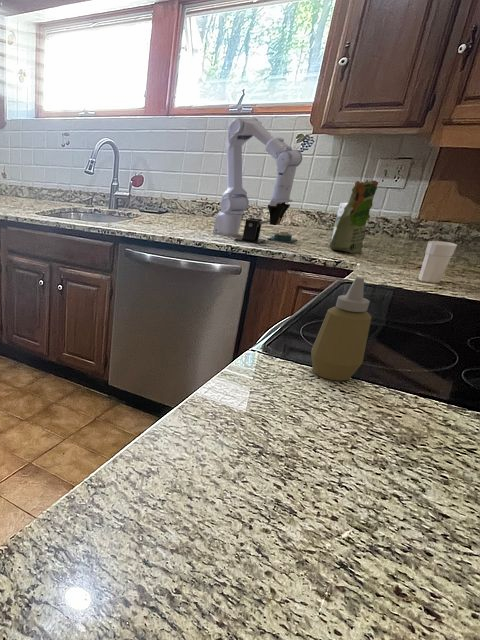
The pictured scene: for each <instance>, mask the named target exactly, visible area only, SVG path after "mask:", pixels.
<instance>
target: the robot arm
mask: <svg viewBox="0 0 480 640" xmlns="http://www.w3.org/2000/svg"><path fill="white" fill-rule="evenodd" d="M253 137H254V138H256V140H258V141H260V142H261V143H262V144H263V145H264V146H265V151H266V152H267V153H268V155H270V156H271V157H272V158H273V159H274V160H275V164H276V176H275V177H276V178H275V181H274V185H273V190H272V191H273V192H272V195H271V198H270V201H269V204H268V205H267V210H268V212H269V220H270V222H269V225H270V226H277V225H281V222H282V220H283V218H284V216H285V214H286V213H287V211H288V209H289V208H290V206H291V203H292V202H293V199H292V198H291V194H292V189H293V184H294V179H295V175H296V171H297V167H299V166H300V165H301V163H302V162H303V154H302V153H301V151H300V150H298V149H293V146H291V145H288V144H287V143H286V142H285V139H284V138H283V137H279V136H277V137H274V136H273V135H272V134H271V133H270V132H269V131H268V130H267V129H266V128H265V126H264V125H263V123H262V122H261V121H260V120H259V118H257V117H251V118H249V117H248V118H247V117H246V118H243V117H235V118H233V119H232V121H231V122H230V123H229V124H228V126H227V140H226V187H227V188H226V190H225V191H224V192H223V193H222V194H221V201H220V205H219V206H220V212H217V214H216V216H215V219H214V224H213V230H212V234H214V235H215V234H216V235H221V236H230V237H236V236H239V233H240V227H241V222H242V217H243V215H244V214H245V211H247V210H248V208H249V205H250V200H249V198H248V192H247V191H246V190H245V188H243V145H244V144H246V142H248V141H249V140H250V139H251V138H253ZM289 203H290V204H289ZM279 217H280V222H279V223H278V220H279Z"/></svg>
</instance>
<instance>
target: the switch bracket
mask: <svg viewBox="0 0 480 640" xmlns="http://www.w3.org/2000/svg"><path fill="white" fill-rule="evenodd" d="M260 221H264V220H263V219H262V218H254V217H250V218H246V219H245V223H244V230H243V232H242V236H240V237H237V238H234V242H240V243H248V244H254V245H260V244H262V243H265V242H266V241H267V239H264V238H260V234H261V229H262V225H263V224H259V226H258V222H260Z"/></svg>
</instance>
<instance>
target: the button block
mask: <svg viewBox="0 0 480 640" xmlns="http://www.w3.org/2000/svg"><path fill="white" fill-rule="evenodd" d="M292 237H293V235H292V234H290V233H288V235H279V232H275V233H274V235H273V236H270V237H268V238H267V239H266V241H271V242H279V243H286V244H294V243H296V242H298V240H297V239H294V238H292Z"/></svg>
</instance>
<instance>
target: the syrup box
mask: <svg viewBox="0 0 480 640" xmlns="http://www.w3.org/2000/svg"><path fill="white" fill-rule="evenodd" d="M347 204H348V202H340V203H339V206H338V210H337V214H336V218H335V221H334V225H333V229H332V232H331V237H330V240H331V241H332V239H333V236H334V234H335V231H336V228H337V224H338V222H339V219H340V217H341V216H342V214H343V212H344V208H345V207H346V205H347Z"/></svg>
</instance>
